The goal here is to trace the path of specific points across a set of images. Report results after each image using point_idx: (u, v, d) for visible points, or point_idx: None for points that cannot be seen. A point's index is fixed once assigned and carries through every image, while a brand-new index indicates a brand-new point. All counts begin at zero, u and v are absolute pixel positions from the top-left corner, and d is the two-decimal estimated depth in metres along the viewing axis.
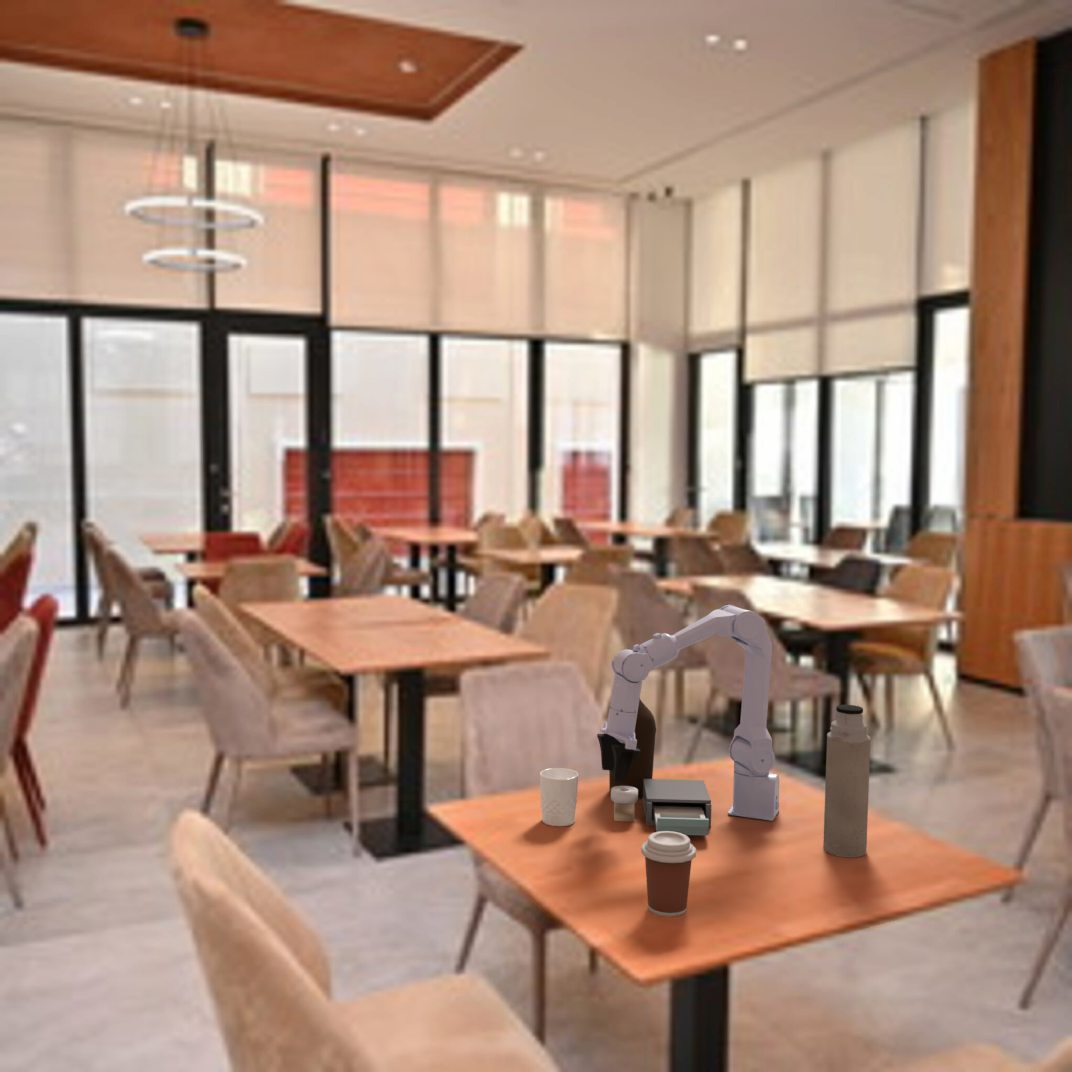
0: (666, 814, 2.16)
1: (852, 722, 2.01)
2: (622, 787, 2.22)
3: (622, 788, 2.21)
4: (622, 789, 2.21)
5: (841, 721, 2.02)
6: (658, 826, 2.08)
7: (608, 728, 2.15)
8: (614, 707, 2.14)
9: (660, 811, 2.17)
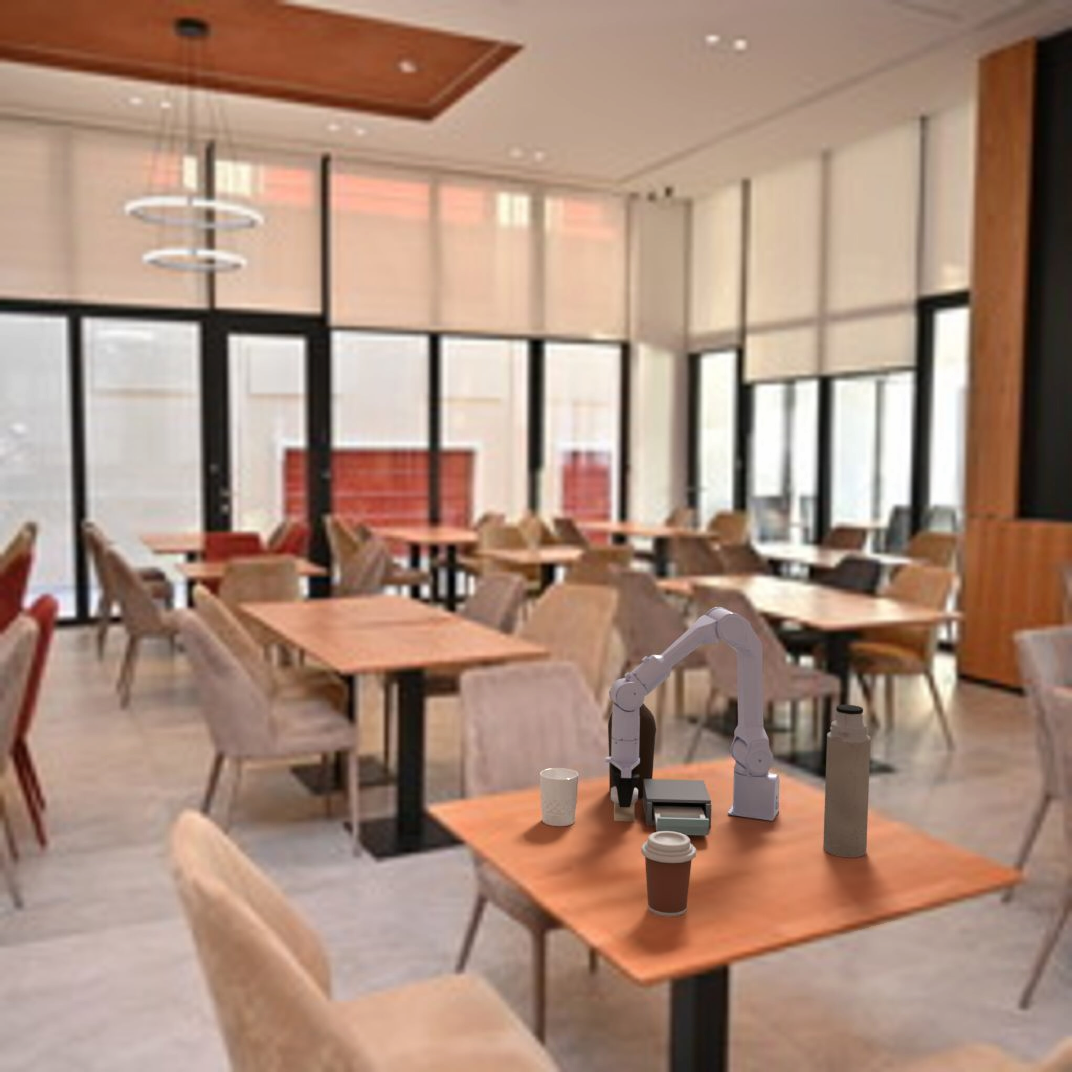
0: (666, 814, 2.16)
1: (852, 722, 2.01)
2: None
3: None
4: None
5: (841, 721, 2.02)
6: (658, 826, 2.08)
7: (611, 757, 2.20)
8: (614, 737, 2.18)
9: (660, 811, 2.17)
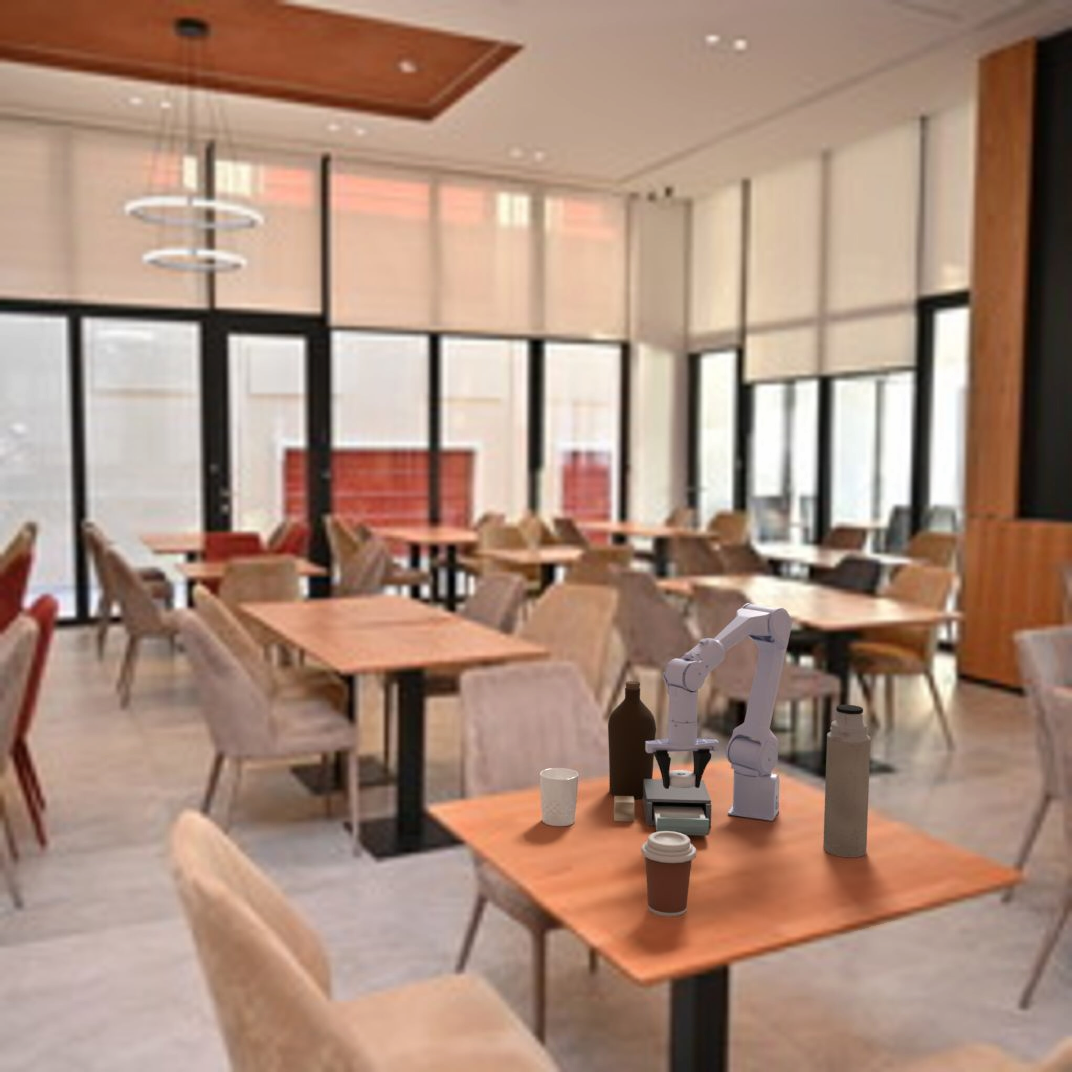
0: (666, 814, 2.16)
1: (852, 722, 2.01)
2: (688, 773, 2.13)
3: (683, 773, 2.13)
4: (682, 773, 2.13)
5: (841, 721, 2.02)
6: (658, 826, 2.08)
7: None
8: (678, 720, 2.09)
9: (660, 811, 2.17)
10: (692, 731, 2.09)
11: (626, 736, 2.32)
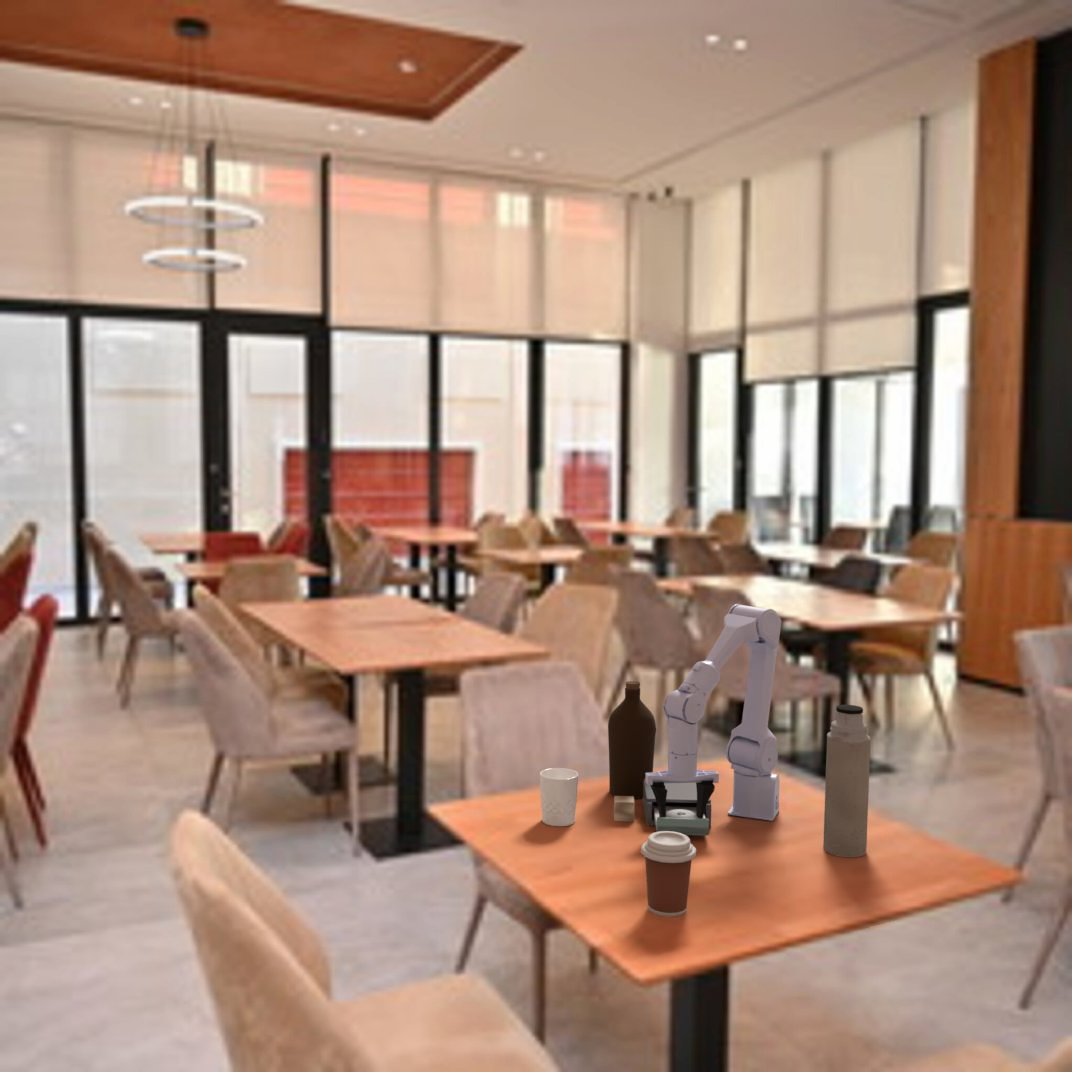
0: (666, 814, 2.16)
1: (852, 722, 2.01)
2: (687, 812, 2.13)
3: (683, 813, 2.13)
4: (682, 813, 2.13)
5: (841, 721, 2.02)
6: (658, 826, 2.08)
7: None
8: (678, 752, 2.09)
9: None
10: (692, 763, 2.10)
11: (626, 736, 2.32)
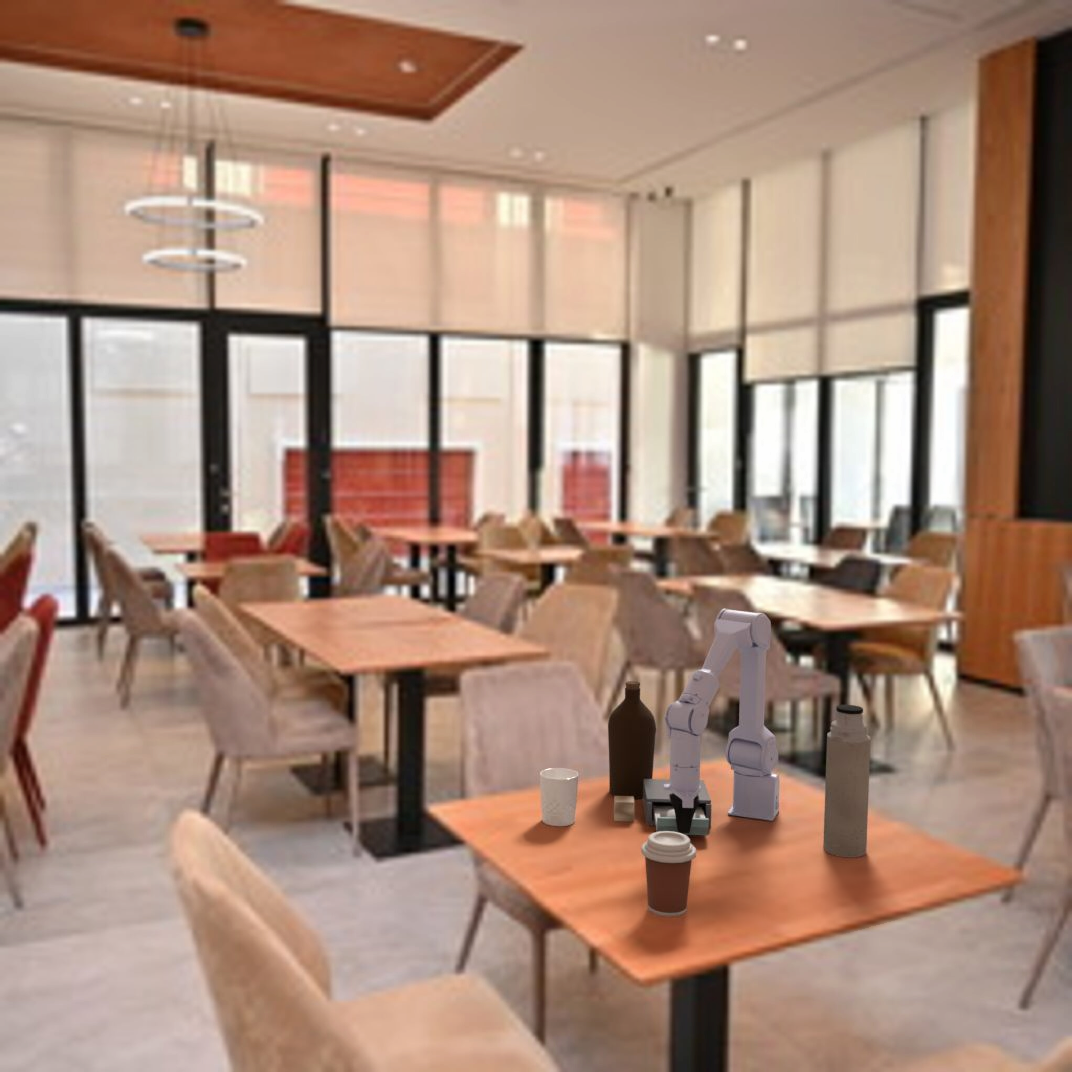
0: (666, 814, 2.16)
1: (852, 722, 2.01)
2: None
3: None
4: None
5: (841, 721, 2.02)
6: (658, 826, 2.09)
7: (670, 784, 2.06)
8: (683, 765, 2.03)
9: (660, 811, 2.17)
10: None
11: (626, 736, 2.32)
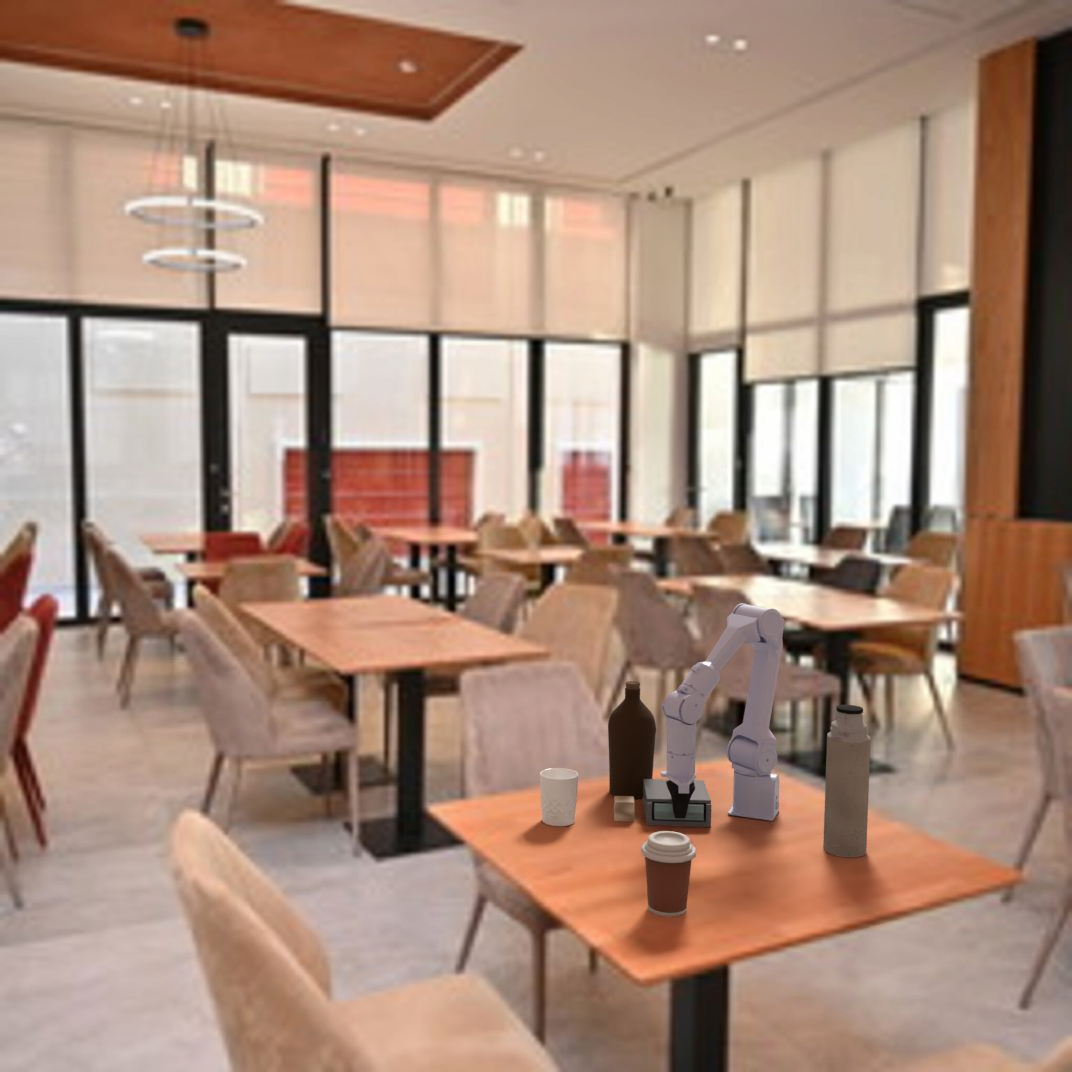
0: None
1: (852, 722, 2.01)
2: None
3: None
4: None
5: (841, 721, 2.02)
6: (655, 811, 2.17)
7: (667, 771, 2.14)
8: (675, 752, 2.12)
9: None
10: None
11: (626, 736, 2.32)
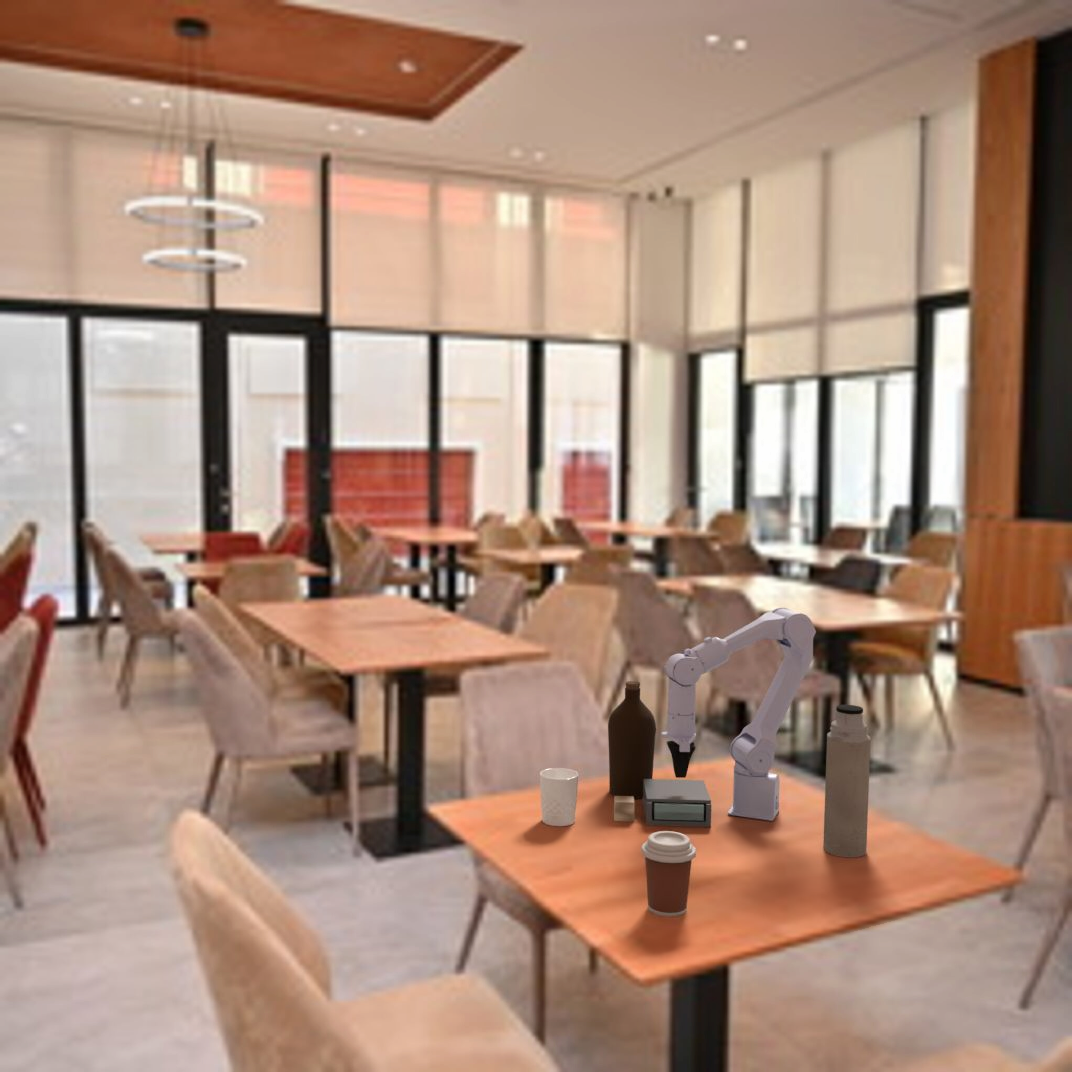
0: None
1: (852, 722, 2.01)
2: None
3: None
4: None
5: (841, 721, 2.02)
6: (655, 812, 2.17)
7: (668, 732, 2.21)
8: (671, 712, 2.19)
9: None
10: None
11: (626, 736, 2.32)
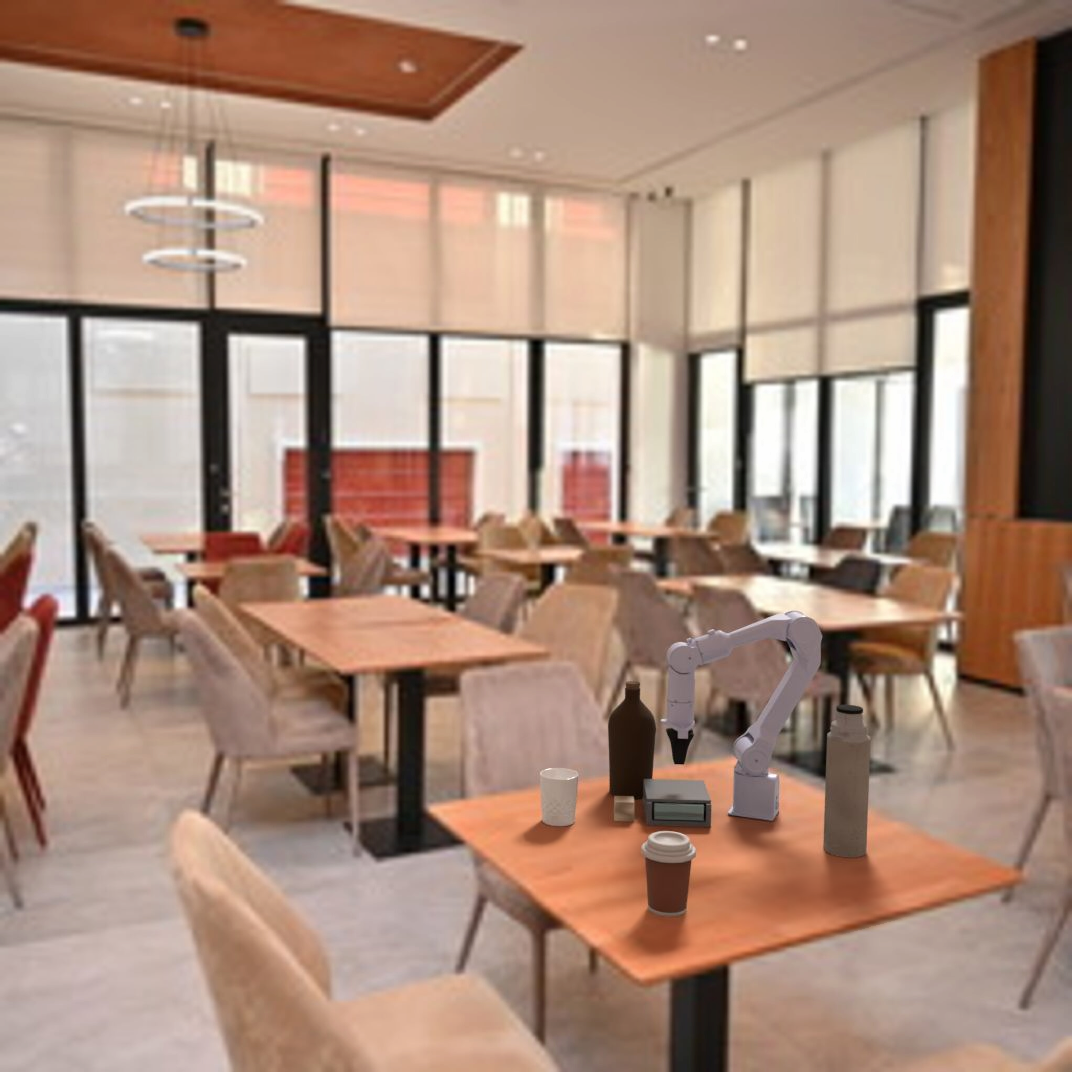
0: None
1: (852, 722, 2.01)
2: None
3: None
4: None
5: (841, 721, 2.02)
6: (655, 812, 2.17)
7: (667, 719, 2.24)
8: (669, 699, 2.23)
9: None
10: None
11: (626, 736, 2.32)
